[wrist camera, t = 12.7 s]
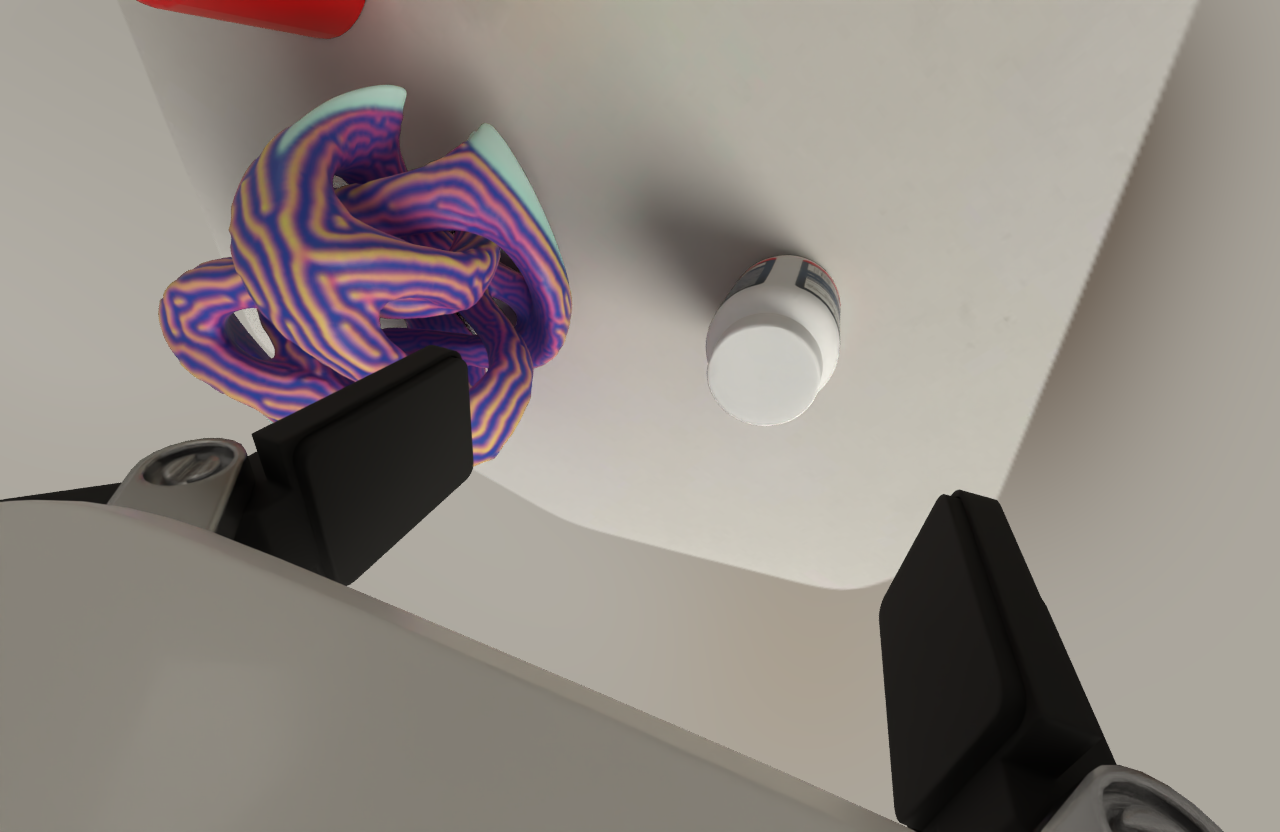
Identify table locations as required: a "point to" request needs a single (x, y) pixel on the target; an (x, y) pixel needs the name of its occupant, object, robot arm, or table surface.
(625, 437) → the table surface
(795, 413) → the pill bottle
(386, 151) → the sculpture
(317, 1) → the mug
